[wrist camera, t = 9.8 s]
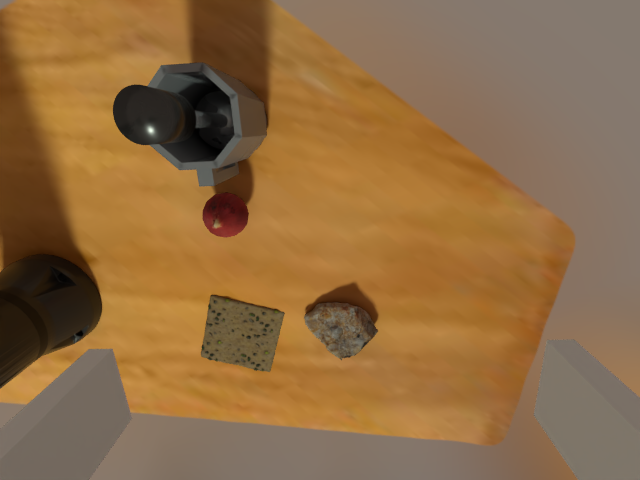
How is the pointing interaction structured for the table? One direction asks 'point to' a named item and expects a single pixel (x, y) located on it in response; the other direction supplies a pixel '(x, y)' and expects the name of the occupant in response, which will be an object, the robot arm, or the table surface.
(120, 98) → the plunger
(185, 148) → the press carafe
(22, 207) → the table surface
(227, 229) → the onion
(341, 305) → the rock
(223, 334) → the grey porous flat square
